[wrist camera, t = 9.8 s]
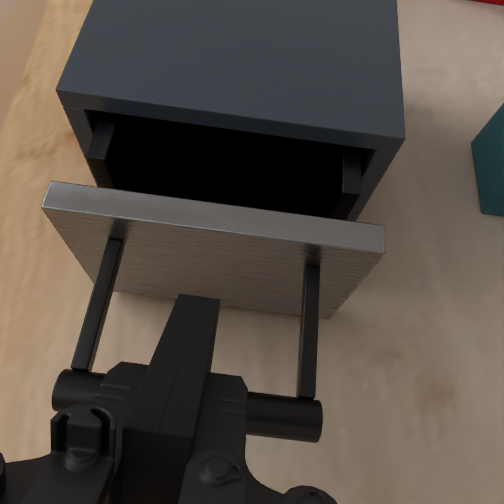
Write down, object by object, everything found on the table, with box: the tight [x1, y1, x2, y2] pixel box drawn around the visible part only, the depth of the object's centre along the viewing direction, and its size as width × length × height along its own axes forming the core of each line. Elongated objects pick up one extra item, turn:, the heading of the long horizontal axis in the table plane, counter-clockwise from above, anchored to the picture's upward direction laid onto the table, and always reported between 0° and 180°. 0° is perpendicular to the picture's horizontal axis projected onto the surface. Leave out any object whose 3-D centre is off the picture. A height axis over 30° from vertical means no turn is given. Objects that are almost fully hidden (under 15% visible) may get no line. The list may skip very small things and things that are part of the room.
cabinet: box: [56, 0, 405, 222], centre depth 24 cm, size 15×14×10 cm
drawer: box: [41, 111, 385, 443], centre depth 21 cm, size 20×13×8 cm, turn 174°
